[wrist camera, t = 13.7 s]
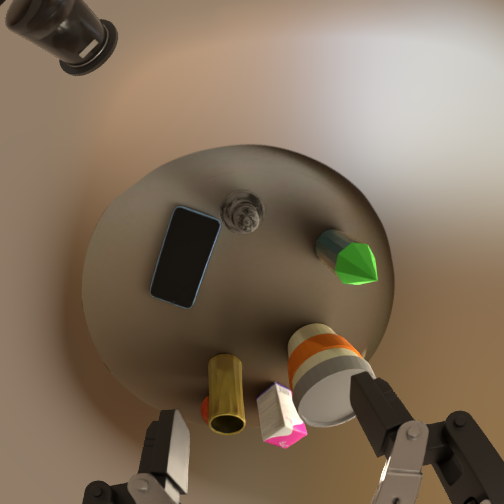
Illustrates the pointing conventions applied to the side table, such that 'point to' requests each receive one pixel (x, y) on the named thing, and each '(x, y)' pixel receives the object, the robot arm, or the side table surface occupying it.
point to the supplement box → (279, 417)
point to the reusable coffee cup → (322, 375)
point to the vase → (225, 395)
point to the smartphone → (184, 256)
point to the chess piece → (242, 212)
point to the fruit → (205, 409)
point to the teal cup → (332, 247)
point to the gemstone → (356, 264)
